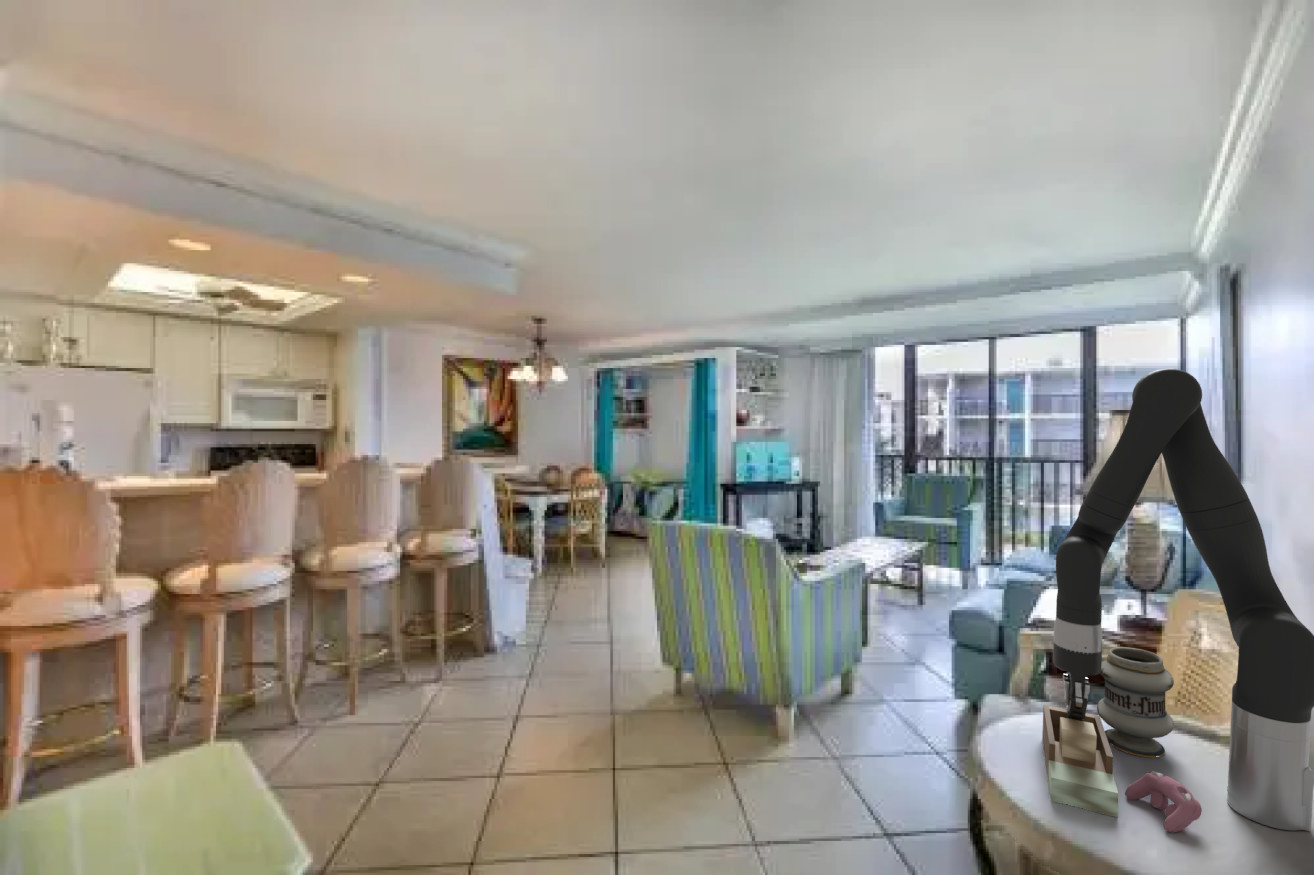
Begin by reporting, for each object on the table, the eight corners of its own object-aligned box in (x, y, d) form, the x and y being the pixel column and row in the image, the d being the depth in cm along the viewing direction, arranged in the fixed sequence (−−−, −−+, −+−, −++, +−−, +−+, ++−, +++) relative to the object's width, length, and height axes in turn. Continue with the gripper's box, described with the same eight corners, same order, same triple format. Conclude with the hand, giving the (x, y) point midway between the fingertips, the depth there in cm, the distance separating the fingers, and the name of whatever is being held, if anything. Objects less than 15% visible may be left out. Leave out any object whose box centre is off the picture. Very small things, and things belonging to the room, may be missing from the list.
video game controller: (1191, 845, 98) (1214, 806, 98) (1165, 831, 98) (1187, 792, 98) (1143, 805, 108) (1163, 769, 108) (1119, 793, 108) (1140, 757, 108)
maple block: (1091, 750, 115) (1092, 723, 115) (1095, 763, 110) (1096, 735, 110) (1059, 743, 117) (1060, 716, 117) (1061, 756, 113) (1062, 728, 113)
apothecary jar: (1080, 731, 130) (1083, 644, 129) (1130, 726, 132) (1134, 641, 131) (1135, 764, 118) (1139, 668, 117) (1189, 757, 120) (1193, 664, 119)
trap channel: (1098, 751, 122) (1099, 715, 122) (1117, 817, 102) (1119, 775, 102) (1042, 739, 126) (1043, 704, 126) (1050, 800, 107) (1051, 760, 106)
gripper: (1106, 659, 110) (1103, 757, 111) (1097, 635, 122) (1094, 724, 122) (1056, 651, 114) (1052, 745, 115) (1051, 629, 125) (1048, 715, 126)
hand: (1074, 734), depth 118 cm, fingers closed
